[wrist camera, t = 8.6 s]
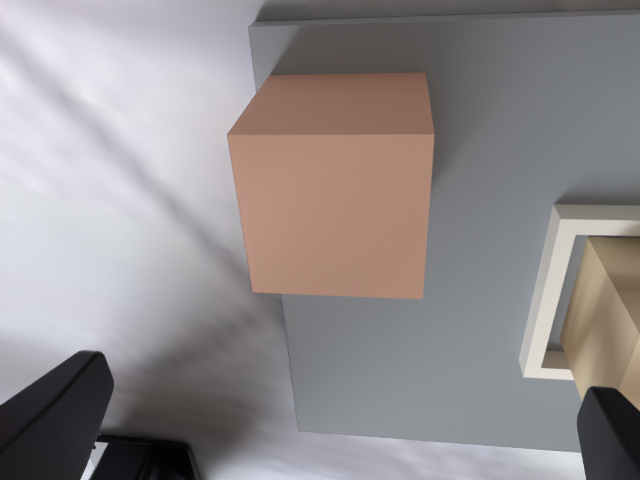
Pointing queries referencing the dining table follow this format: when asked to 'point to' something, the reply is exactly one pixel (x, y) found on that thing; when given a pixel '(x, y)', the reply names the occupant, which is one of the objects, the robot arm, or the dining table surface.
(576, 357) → the maple block
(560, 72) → the building board
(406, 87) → the terracotta block
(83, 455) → the robot arm
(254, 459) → the dining table surface
